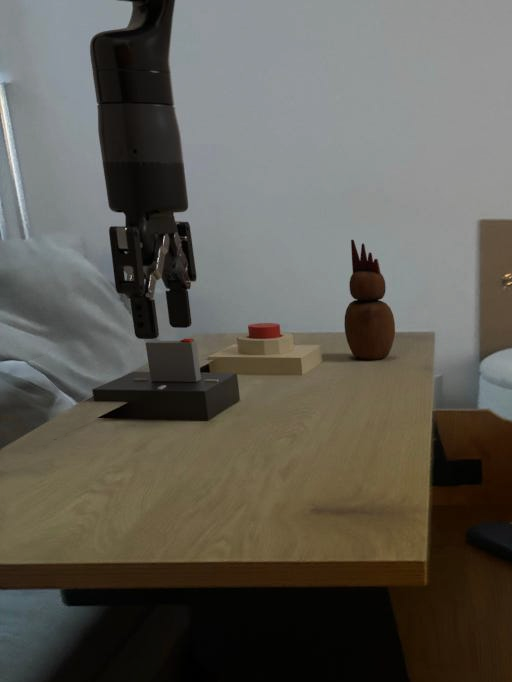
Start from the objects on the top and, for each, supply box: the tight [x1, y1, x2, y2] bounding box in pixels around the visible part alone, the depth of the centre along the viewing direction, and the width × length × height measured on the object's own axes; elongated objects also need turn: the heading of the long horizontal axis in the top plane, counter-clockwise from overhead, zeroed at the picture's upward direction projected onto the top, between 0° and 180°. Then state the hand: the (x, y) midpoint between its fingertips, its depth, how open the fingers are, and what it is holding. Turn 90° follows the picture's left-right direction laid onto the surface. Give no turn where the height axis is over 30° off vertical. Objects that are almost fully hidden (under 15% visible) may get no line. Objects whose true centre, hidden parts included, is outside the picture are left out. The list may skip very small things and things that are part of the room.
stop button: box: [247, 322, 282, 339], centre depth 126 cm, size 4×4×2 cm
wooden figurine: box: [343, 239, 396, 361], centre depth 131 cm, size 7×6×15 cm
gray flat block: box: [145, 338, 201, 382], centre depth 104 cm, size 5×1×4 cm, turn 84°
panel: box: [92, 371, 241, 421], centre depth 105 cm, size 12×10×3 cm
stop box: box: [207, 331, 323, 376], centre depth 127 cm, size 12×10×4 cm
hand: (165, 332), depth 102 cm, fingers open, 8 cm apart
